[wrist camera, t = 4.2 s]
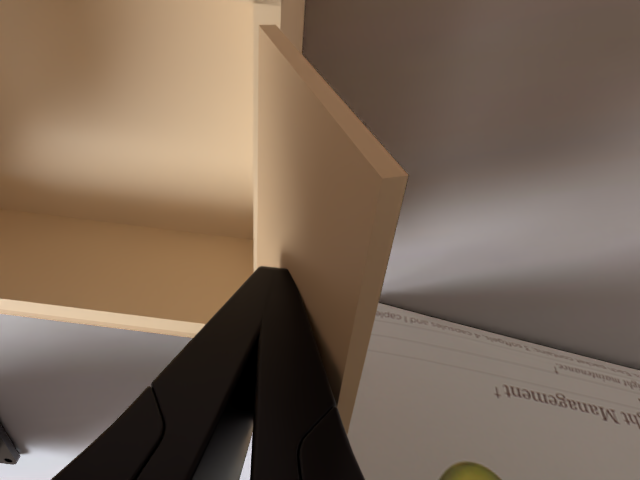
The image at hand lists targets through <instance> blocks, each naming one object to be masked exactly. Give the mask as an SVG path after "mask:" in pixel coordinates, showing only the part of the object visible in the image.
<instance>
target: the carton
mask: <svg viewBox="0 0 640 480" xmlns="http://www.w3.org/2000/svg"><path fill="white" fill-rule="evenodd" d="M304 12H305V0H0V314H7V315H15V316H23V317H31V318H39V319H47V320H55V321H63V322H70V323H78V324H86V325H94V326H102V327H110V328H118V329H126V330H134V331H142V332H150V333H158V334H166V335H174V336H182V337H190V338H194V336H195V335H196V334H197V333H198V332H199V331H200V330H201V329H202V328H203V327H204V326H205V325H206V323H207V322H208V321H209V320H210V319H211V318H212V317H213V316H214V315H215V314H216V313H217V311H218V310H219V309H220V308H221V307H222V306H223V305H224V304H225V303H226V302H227V301H228V300H229V298H230V297H231V296H232V295H233V294H234V293H235V292H236V291H237V290H238V289H239V288H240V287H241V285H242V284H243V283H244V282H245V281H246V280H247V279H248V278H249V277H250V276H251V275H252V274H253V272H254V271H255V270H256V269H257V217H258V53H259V25H276V26H277V27H278V28H279V29H280V30H281V31H282V33H283V34H284V35H285V36H286V37H287V38H288V39H289V41H290V42H291V43H292V44H293V45H294V46H295V47H296V48H297V50H298V51H299V52H300V53H301V54H302V44H303V28H304Z"/></svg>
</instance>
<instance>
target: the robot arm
mask: <svg viewBox="0 0 640 480" xmlns="http://www.w3.org/2000/svg"><path fill="white" fill-rule="evenodd" d="M252 432H253V437H252V456H251V475H250V480H365V478H364V476H363V474H362V471H361V469H360V467H359V464H358V462H357V460H356V458H355V455H354V453H353V450H352V448H351V445H350V442H349V439H348V437H347V434H346V431H345V428H344V426H343V423H342V420H341V417H340V414H339V410H338V408H337V407H336V402H335V399H334V396H333V393H332V390H331V387H330V384H329V380H328V377H327V374H326V371H325V368H324V365H323V362H322V359H321V356H320V353H319V350H318V347H317V344H316V341H315V337H314V334H313V331H312V328H311V325H310V322H309V319H308V316H307V313H306V310H305V307H304V304H303V301H302V298H301V294H300V292H299V290H298V287H297V285H296V283H295V281H294V280H293V278H292V276H291V274H290V272H289V271H288V269H286V268H277V267H268V266H260V267H258V268H257V269H256V270H255V271H254V272H253V274H252V275H251V276H250V277H249V278H248V279H247V280H246V281H245V282H244V283H243V284H242V285H241V287H240V288H239V289H238V290H237V291H236V292H235V293H234V294H233V295H232V296H231V297H230V298H229V300H228V301H227V302H226V303H225V304H224V305H223V306H222V307H221V308H220V309H219V310H218V311H217V313H216V314H215V315H214V316H213V317H212V318H211V319H210V320H209V321H208V322H207V323H206V325H205V326H204V327H203V328H202V329H201V330H200V331H199V332H198V333H197V334H196V335H195V336H194V338H193V339H192V340H191V341H190V342H189V343H188V344H187V345H186V346H185V347H184V348H183V349H182V351H181V352H180V353H179V354H178V355H177V356H176V357H175V358H174V359H173V360H172V361H171V362H170V364H169V365H168V366H167V367H166V368H165V369H164V370H163V371H162V372H161V373H160V374H159V375H158V377H157V378H156V379H155V380H154V381H153V382H152V383H151V387H150V386H149V387H147V388H146V389H145V390H144V391H143V393H142V394H141V395H140V396H139V397H138V398H137V399H136V400H135V401H134V402H133V403H132V404H131V405H130V407H129V408H128V409H127V410H126V411H125V412H124V413H123V414H122V415H121V416H120V417H119V418H118V419H117V420H116V421H115V422H114V423H113V424H112V425H111V426H110V427H109V428H108V429H107V430H106V431H104V432H103V433H102V434H101V435H100V436H99V437H98V438H97V439H96V440H95V441H94V442H93V443H91V444H90V445H89V446H88V447H87V448H86V449H85V450H84V451H83V452H82V453H80V454H79V455H78V456H77V457H76V458H75V459H74V460H73V461H71V462H70V463H69V464H68V465H67V466H66V467H65V468H63V469H62V470H61V471H60V472H59V473H58V474H57V475H56V476H54V477H53V478H52V479H51V480H239V479H240V475H241V472H242V468H243V464H244V461H245V457H246V454H247V450H248V447H249V443H250V440H251V436H252ZM19 458H20V455H19V453H18V452H17V450H16V448H15V447H14V445H13V443H12V442H11V440H10V439H9V437H8V435H7V434H6V432H5V431H4V429H3V427H2V426H1V424H0V463H5V464H16V463H17V461H18V460H19Z"/></svg>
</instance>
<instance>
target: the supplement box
mask: <svg viewBox="0 0 640 480" xmlns="http://www.w3.org/2000/svg"><path fill="white" fill-rule="evenodd" d="M347 437H348V439H349V442H350V445H351V448H352V450H353V453H354V455H355V458H356V460H357V462H358V464H359V467H360V469H361V471H362V474H363V476H364V478H365V480H640V370H636V369H632V368H628V367H624V366H620V365H616V364H612V363H608V362H604V361H600V360H596V359H593V358H589V357H585V356H581V355H577V354H573V353H569V352H565V351H561V350H557V349H553V348H550V347H546V346H542V345H538V344H534V343H530V342H526V341H522V340H518V339H514V338H510V337H507V336H503V335H499V334H495V333H491V332H487V331H483V330H480V329H476V328H472V327H468V326H464V325H460V324H456V323H453V322H449V321H445V320H441V319H437V318H433V317H429V316H426V315H422V314H418V313H415V312H411V311H407V310H404V309H400V308H396V307H392V306H389V305H385V304H381V303H378V307H377V311H376V315H375V320H374V324H373V328H372V332H371V337H370V341H369V345H368V349H367V353H366V358H365V362H364V366H363V370H362V375H361V379H360V383H359V387H358V392H357V396H356V400H355V404H354V408H353V413H352V417H351V421H350V425H349V430H348V434H347Z"/></svg>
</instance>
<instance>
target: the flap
mask: <svg viewBox="0 0 640 480" xmlns="http://www.w3.org/2000/svg"><path fill="white" fill-rule="evenodd" d="M408 176H409V175H408V174H407V173H406V172H405V171H404V170H403V168H402V167H401V166H400V165H399V164H398V163H397V162H396V160H395V159H394V158H393V157H392V156H391V155H390V154H389V153H388V151H387V150H386V149H385V148H384V147H383V146H382V145H381V143H380V142H379V141H378V140H377V139H376V138H375V137H374V136H373V134H372V133H371V132H370V131H369V130H368V129H367V128H366V127H365V125H364V124H363V123H362V122H361V121H360V120H359V119H358V117H357V116H356V115H355V114H354V113H353V112H352V111H351V110H350V108H349V107H348V106H347V105H346V104H345V103H344V102H343V100H342V99H341V98H340V97H339V96H338V95H337V94H336V93H335V91H334V90H333V89H332V88H331V87H330V86H329V85H328V84H327V82H326V81H325V80H324V79H323V78H322V77H321V76H320V74H319V73H318V72H317V71H316V70H315V69H314V68H313V67H312V65H311V64H310V63H309V62H308V61H307V60H306V59H305V57H304V56H303V55H302V54H301V53H300V52H299V51H298V50H297V48H296V47H295V46H294V45H293V44H292V43H291V42H290V41H289V39H288V38H287V37H286V36H285V35H284V34H283V33H282V31H281V30H280V29H279V28H278V27H277V26H276V25H259V53H258V217H257V268H258V267H260V266H268V267H277V268H286V269H288V271H289V272H290V274H291V276H292V278H293V280H294V281H295V283H296V285H297V287H298V290H299V292H300V294H301V298H302V301H303V304H304V307H305V310H306V313H307V316H308V319H309V322H310V325H311V328H312V331H313V334H314V337H315V341H316V344H317V347H318V350H319V353H320V356H321V359H322V362H323V365H324V368H325V371H326V374H327V377H328V380H329V384H330V387H331V390H332V393H333V396H334V399H335V402H336V407H337V408H338V410H339V414H340V417H341V420H342V423H343V426H344V428H345V431H346V434H348V430H349V425H350V421H351V417H352V413H353V408H354V404H355V400H356V396H357V392H358V387H359V383H360V379H361V375H362V370H363V366H364V362H365V358H366V353H367V349H368V345H369V341H370V337H371V332H372V328H373V324H374V320H375V315H376V311H377V307H378V303H379V298H380V294H381V290H382V286H383V282H384V277H385V273H386V269H387V265H388V260H389V256H390V252H391V248H392V244H393V239H394V235H395V231H396V227H397V222H398V218H399V214H400V210H401V205H402V201H403V197H404V193H405V189H406V184H407V180H408Z"/></svg>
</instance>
